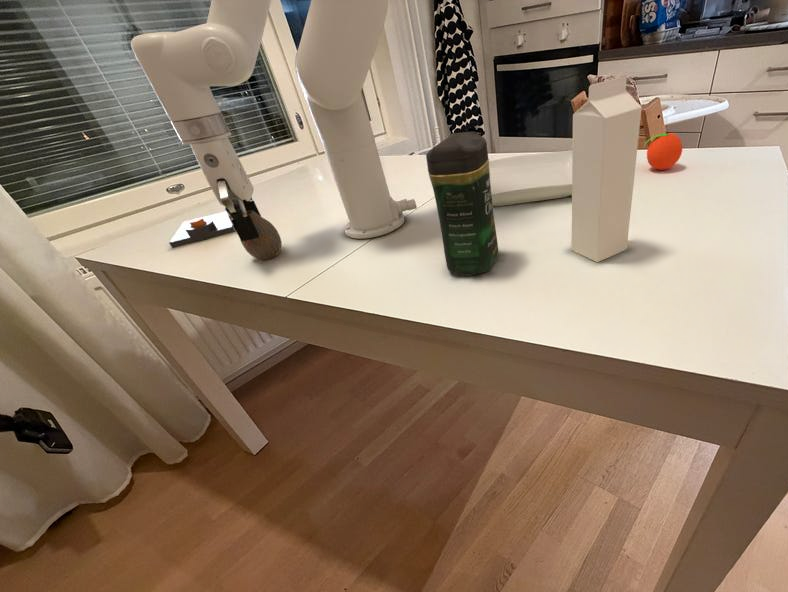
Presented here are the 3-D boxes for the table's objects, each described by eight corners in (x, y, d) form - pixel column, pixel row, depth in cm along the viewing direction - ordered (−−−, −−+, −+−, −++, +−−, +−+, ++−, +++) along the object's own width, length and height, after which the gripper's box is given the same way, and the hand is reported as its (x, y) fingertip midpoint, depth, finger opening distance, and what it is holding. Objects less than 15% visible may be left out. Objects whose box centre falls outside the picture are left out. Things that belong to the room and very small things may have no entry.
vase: (274, 263, 76) (250, 218, 70) (244, 264, 78) (219, 220, 72) (293, 247, 81) (273, 204, 75) (265, 248, 83) (243, 207, 77)
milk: (626, 250, 60) (647, 75, 46) (596, 263, 59) (608, 85, 44) (599, 238, 65) (610, 75, 51) (569, 250, 63) (572, 84, 49)
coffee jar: (491, 277, 60) (473, 142, 48) (442, 277, 62) (413, 148, 50) (504, 249, 67) (491, 124, 55) (460, 250, 69) (438, 130, 57)
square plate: (600, 199, 78) (601, 178, 75) (464, 217, 80) (461, 198, 78) (576, 163, 98) (577, 145, 96) (468, 178, 101) (466, 162, 99)
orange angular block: (207, 222, 94) (203, 216, 93) (205, 226, 92) (201, 220, 91) (194, 226, 94) (190, 219, 93) (191, 230, 92) (187, 223, 91)
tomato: (641, 176, 85) (646, 139, 80) (637, 166, 90) (641, 131, 85) (682, 172, 83) (689, 134, 78) (675, 162, 88) (681, 126, 83)
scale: (241, 213, 106) (235, 202, 104) (235, 233, 94) (228, 220, 92) (186, 227, 103) (179, 215, 101) (172, 249, 91) (163, 236, 89)
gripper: (219, 132, 59) (271, 240, 70) (232, 119, 72) (274, 213, 83) (165, 142, 58) (226, 251, 69) (188, 127, 71) (237, 221, 81)
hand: (252, 230), depth 76 cm, fingers open, 9 cm apart
